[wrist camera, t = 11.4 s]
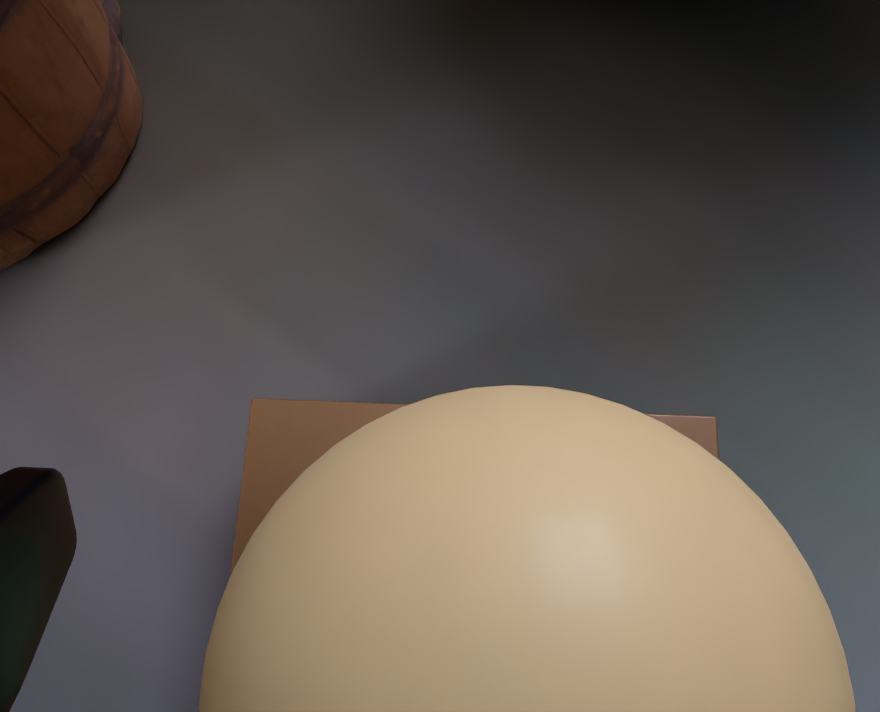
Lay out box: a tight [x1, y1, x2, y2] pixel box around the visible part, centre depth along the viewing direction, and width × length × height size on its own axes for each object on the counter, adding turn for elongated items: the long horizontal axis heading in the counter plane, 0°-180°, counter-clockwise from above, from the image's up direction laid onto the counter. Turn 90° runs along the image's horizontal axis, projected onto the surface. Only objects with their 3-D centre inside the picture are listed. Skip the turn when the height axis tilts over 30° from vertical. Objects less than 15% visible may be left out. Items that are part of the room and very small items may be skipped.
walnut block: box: [230, 398, 719, 577], centre depth 16 cm, size 9×9×3 cm
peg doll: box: [199, 385, 856, 712], centre depth 9 cm, size 4×4×12 cm
